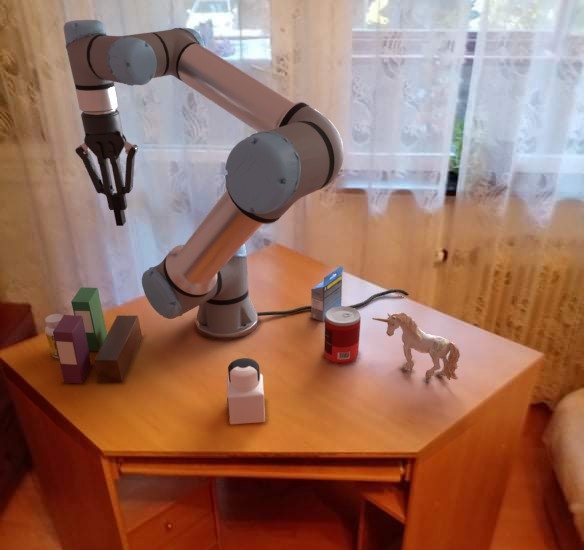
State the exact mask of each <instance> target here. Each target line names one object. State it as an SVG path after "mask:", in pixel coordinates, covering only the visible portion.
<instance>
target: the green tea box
mask: <svg viewBox="0 0 584 550" xmlns="http://www.w3.org/2000/svg"><path fill="white" fill-rule="evenodd" d="M99 291H100V290H99V287H82V286H81V287H80V288H79V289H78V291H77V293H76V294H75V295H74V297H73V298H72V300H71V301H70V304H71V307H72V312H73V315H75V316H83V321H84V327H85V332H86V338H87V343H88V349H89V352H90V351H91V352H98V351H99V350H100V348H101V346H102V344H103V342H104V340H105V338H106V336H107V334H108V333H107V327H106V323H105V317H104V313H103V306H102V302H101V298H100V292H99Z"/></svg>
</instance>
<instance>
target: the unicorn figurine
mask: <svg viewBox="0 0 584 550" xmlns="http://www.w3.org/2000/svg"><path fill="white" fill-rule="evenodd" d="M387 316H388V317H387V318H379V317H372V318H371V319H372V320H375V321H379V322H382V323H387V326H386V336H388V337H393V335H394V334H395V330H397V329H399V328H400V329H401V330H402V334H401V341H402V343H403V344H402V350H403V354H404V358H405V359H406V361H407V362H406V364H404V365H403V366H402V367H401V369H402V371H403V372H407V371H408V370H409V371H410V372H412V371H413V369H414V366H415V365H414V364H415V363H414V362H413V360H412V359H413V354H412V349H413V350H414V351H417V352H418V353H420V354H429V356H430V358H431V362H432V363H433V367H430V368H428V369H427V370H426V371H425V378H424V379H425V381H429V380H430V379H431V378H432V377H433V376H437V378H441V377H446V378H447V380H448V381H450V380H451V379H453V380H458V379H459V376H457V373H456V370H457V369H458V367H459V365H458V362H459V359H460V357H461V354H460V348H459V347H458V346H457V345H456V343H455V342H450V341H449V340H448V339H446V338H444V337H443V336H439V335H432V334H429V333H427V332H424V331H423V330H422V329H420V326H419V325H418V323H417V322H416V321H415V320H414V318H412V316H411V315H408V314H407V313H405V312H400V311H399V312H395V313H392V314H390V313H388V312H387ZM440 360H442V363H443V364H442V365H443V366H442V369H441V365H440ZM440 369H441V370H440ZM438 370H439V371H438ZM436 371H437V372H436ZM435 372H436V373H435Z"/></svg>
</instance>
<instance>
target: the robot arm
mask: <svg viewBox="0 0 584 550" xmlns="http://www.w3.org/2000/svg"><path fill="white" fill-rule="evenodd" d="M63 33H64V34H63V35H64V40H65V49H66V53H67V57H68V62H69V66H70V71H71V75H72V79H73V83H74V88H75V93H76V98H77V104H78V108H79V110H80V111H81V114H80V118H81V122H82V127H83V131H84V139H83V143H82V144H79V146H77V147H76V148H75V150H74V152H75V153H76V154H77V156H78V157H79V158H80V159H81V160H82V163H83V165H84V168H85V169H86V171H87V174H88V176H89V178H90V180H91V182H92V185H93V188H94V190H95V192H96V193H97V194H102V195H104V196H105V197H106V201H107V206H108V209H109V211H112V212H113V214H114V221H115V226H116V227H123V226H124V225H125V224H126V222H127V219H126V214H125V210H127V208H128V202H127V201H128V200H127V196H126V194H130V193H131V192H132V190H133V188H134V175H135V162H136V161H135V160H136V159H135V158H136V155H137V152H138V150H139V146H138V145H137V144H132V143H130V142H128V140H127V137H126V136H125V135H124V133H123V127H122V121H121V115H120V111H119V110H118V109H117V108H118V107H119V104H118V100H117V99H118V98H117V93H116V88H115V87H116V86H115V83H120V84H123V85H127V86H132V87H133V86H144V85H148V84H149V82H151V80H152V79H155V78H162V77H167V76H172V77H174V78H176V79H177V80H179V81H181V82H182V83H183V84H185V85H187V86H188V87H190V88H192V90H194V91H195V92H197V93H199V94H200V95H202V97H203V96H204V97H205V98H207V99H208V100H209V101H211V102H212V103H214V104H215V105H217V106H218V107H220V108H221V109H223V110H224V111H225V112H227V113H228V114H230V115H232V116H234V117H235V118H236V119H238V120H239V121H241V122H242V123H244V124H245V125H247V126H248V127H250V128H251V129H253V130H254V131H255V133H252V134H251V135H250V136H247V137H245V138H243V139H241V140H240V141H239V142H238V143H236V144H235V145H234V147H232V149H231V151H229V152H230V153H229V154H228V156H227V159H226V162H225V171H226V172H227V174H225V175H224V178H225V179H224V180H225V182H224V183H225V192H224V193H223V194H222V195H221V197H220V198H219V199H218V201H217V202H216V203H215V205H214V206H213V207H212V208H211V209H210V211H209V213H208V214H207V215H206V216H205V218H204V219H203V221H201V223H200V224H199V225H198V226H197V228H196V229H195V231H194V232H193V233H192V235H191V236H190V237H189V238H188V240H187V241H186V242H185V244H179V245H177V246H175V247H173V248H172V249H171V250H170V251H169V252H168V253H167V254H166V256H165V257H164V259H162V261H161V262H160V263H159V264H157V265H154V266H151V267H149V268H148V269H146V270H145V271H144V272H143V273H142V276H141V286H142V289H143V292H144V295H145V297H146V299H147V301H148V303H149V305H150V306H151V307H152V308H153V309H154V310H155V312H156V313H157V314H158V315H159V316H162V317H163V318H165V319H168V320H172V319H176V318H177V317H182V316H183V315H184V314H186V313H188V312H189V311H191V310H193V309H195V308H196V307H198V310H197V314H196V317H195V320H194V321H195V323H196V329H197V332H199V333H200V334H201V335H202V336H204V337H206V338H208V339H212V340H218V341H231V340H237V339H242V338H243V337H247V336H249V335H251V334H252V333H253V332H254V331H255V330H256V328H257V327H258V325H259V322H258V320H259V319H258V317H264V316H265V317H266V316H281V315H282V316H283V315H290V314H295V313H298V312H302V311H307V310H311V305H305V306H300V307H297V308H293V309H288V310H280V311H279V310H278V311H273V310H272V311H259V312H257V310H256V309H255V307H254V304H253V302H252V299H251V297H250V294H249V276H248V254H247V249H246V244H245V243H247V241H248V240H249V239H250V238H251V237H252V236H253V235H254V234H255V233H256V232H257V230H259V228H260V227H261V226H263V225H270V224H273V223H275V222H277V221H279V220H280V219H281V218H282V216H283V215H285V213H287V211H288V210H290V208H291V207H293V205H294V204H295V203H296V202H297V201H299V200H300V199H302V198H304V197H306V196H308V195H310V194H312V193H315V192H318V191H320V190H322V189H324V188H326V187H327V186H329V185H330V184H332V182H333V181H334V180H335V179H336V178H337V176H338V175H339V174H340V172H341V169H342V167H343V163H344V157H345V147H344V142H343V139H342V136H341V134H340V132H339V130H338V128H337V127H336V126H335V124H334V123H333V122H332V121H331V120H330V119H329V118H328V117H327V116H326V115H324V114H323V113H322V112H320V111H319V110H317V109H315V108H314V107H312V106H311V105H309V104H308V103H306V102H304V101H298V102H296V103H295V102H293V101H291V100H290V99H288V98H287V97H285V96H283V95H282V94H280V93H278V92H277V91H275V90H274V89H272V88H271V87H269V86H267V85H265V84H264V83H263V82H261V81H259V80H257V79H256V78H255V77H253V76H251V75H250V74H248V73H247V72H245V71H243V70H241V68H239V67H237V66H235V65H234V64H232V63H230V62H229V61H228V60H225V58H222V57H221V56H219V55H217V54H216V53H215V52H213V51H211V50H209V49H208V48H207V47H206V44H205V42H204V39H203V38H202V37H201V35H200V33H199V32H198V31H197V30H195V29H193V28H191V27H174V28H172V29H165V30H158V31H152V32H143V33H134V34H128V35H109V34H107V31H106V28H105V25H104V23H103V22H102V21H101V20H98V19H77V20H70V21H67V22H65V23H64V25H63ZM123 149H125V151H124V153H125V154H126V160H125V174H124V176H125V177H124V176H123V171H122V165H121V154H122V151H123ZM90 151H91V152H92V154H93V155H94V156H95V157H96V159H97V164H98V165H99V170H98V168H97V166H96V164H95V161H94V159H93V157H92V155H91V153H90ZM109 163H110V165H111V170H110V165H109ZM99 171H100V173H99ZM111 171H112V174H113V180H112V175H111ZM113 181H114V184H113ZM113 185H114V186H115V188H114V186H113ZM115 190H116V192H115ZM394 293H397V294H398V293H399V294H402V295H404V296H409V295H410V294H409V293H408V292H407V291H405V290H404V289H401V288H392V289H388V290H385V291H384V290H383V291H381V292H378V293H375V294H373V295H371V296H369V297H368V298H366V300H363V301H361V302H359V303H356V304H352V305H351V304H350V305H347V306H346V307H351V308H354V309H357V308H360V307H363V306H365V305H367V304H369V303H370V302H371V301H373V300H374V299H376V298H379V297H383V296H386V295H388V294H394Z"/></svg>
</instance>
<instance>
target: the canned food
mask: <svg viewBox="0 0 584 550" xmlns="http://www.w3.org/2000/svg"><path fill="white" fill-rule="evenodd" d="M361 318H362V316H361V312H360V311H359V310H358V309H357V308H351V307H346V306H345V305H344V306H343V305H341V306H340V307H334V308H331V309H329V310H328V311H327V312H326V314H325V320H324V341H323V342H324V343H323V346H324V347H323V349H324V350H323V353H324V357H325V359H326V360H327V362H329V363H332V364H334V365H341V366H342V365H348V364H352V363H354V362H355V361H356V360H357V358H358V356H359V347H360V334H361V322H362V321H361Z"/></svg>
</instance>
